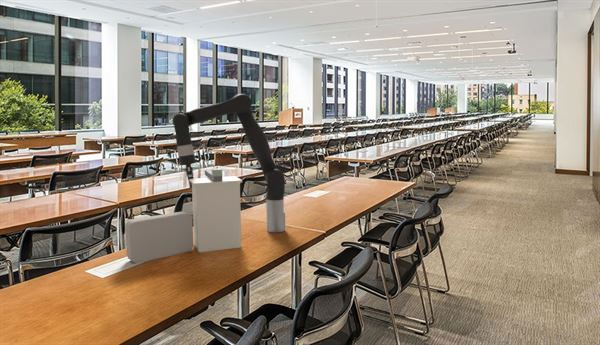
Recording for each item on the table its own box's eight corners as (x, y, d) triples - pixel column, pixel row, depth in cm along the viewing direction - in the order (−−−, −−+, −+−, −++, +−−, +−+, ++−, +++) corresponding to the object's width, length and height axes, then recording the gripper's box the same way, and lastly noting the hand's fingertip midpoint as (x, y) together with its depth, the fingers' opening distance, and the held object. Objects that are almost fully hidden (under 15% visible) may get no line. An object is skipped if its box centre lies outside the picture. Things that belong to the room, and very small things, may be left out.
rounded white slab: (186, 246, 214) (184, 209, 212) (193, 250, 209) (192, 212, 206) (125, 259, 197) (122, 219, 194) (131, 264, 191) (128, 222, 188)
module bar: (212, 174, 227) (212, 163, 227) (222, 181, 205) (222, 169, 205) (204, 174, 226) (204, 163, 225) (213, 181, 204) (213, 169, 203)
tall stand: (236, 239, 226) (235, 176, 221) (243, 247, 213) (242, 180, 208) (192, 244, 218) (189, 179, 213) (196, 253, 205) (193, 183, 200)
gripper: (194, 153, 214) (200, 187, 216) (193, 153, 228) (199, 184, 230) (178, 156, 213) (184, 190, 214) (178, 155, 226) (184, 187, 228)
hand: (192, 187), depth 222 cm, fingers open, 8 cm apart
